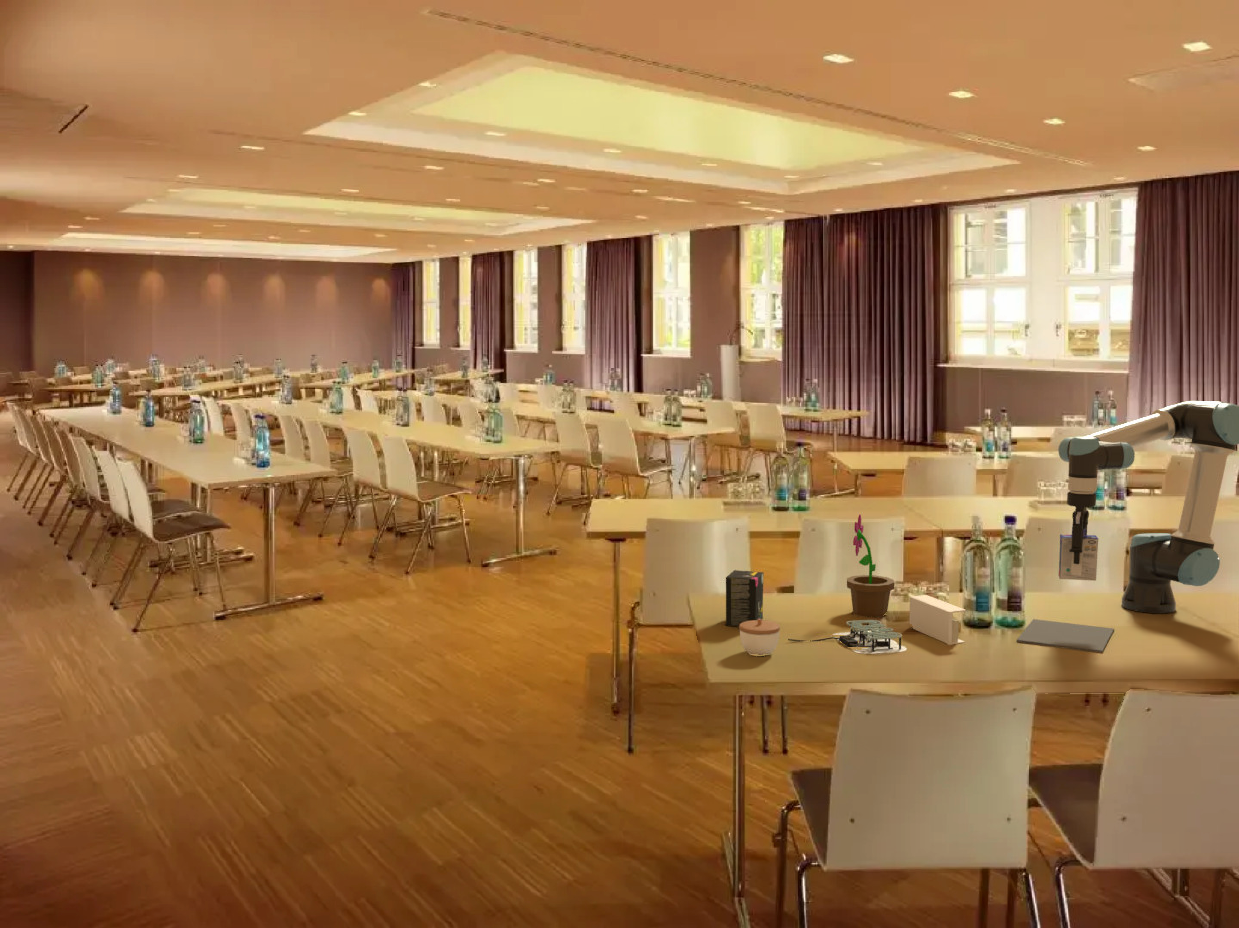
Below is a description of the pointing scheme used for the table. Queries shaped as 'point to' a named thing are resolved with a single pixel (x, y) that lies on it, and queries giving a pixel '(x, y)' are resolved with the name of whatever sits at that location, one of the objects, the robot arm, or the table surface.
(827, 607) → the table surface
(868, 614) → the flowerpot
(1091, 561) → the ink cartridge box
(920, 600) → the cigarette display
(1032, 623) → the mat
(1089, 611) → the table surface
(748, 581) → the tampon box
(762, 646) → the lidded jar
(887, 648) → the neon sign
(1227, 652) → the table surface
